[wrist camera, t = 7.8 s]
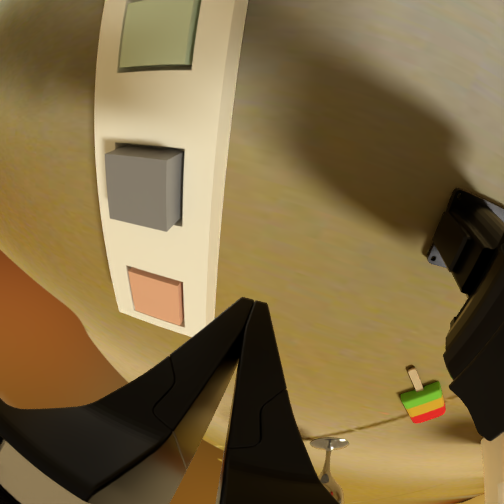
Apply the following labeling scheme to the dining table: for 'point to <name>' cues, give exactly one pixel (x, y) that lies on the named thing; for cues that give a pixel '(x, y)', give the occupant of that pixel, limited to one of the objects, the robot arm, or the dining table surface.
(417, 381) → the popsicle
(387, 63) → the dining table surface
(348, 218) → the dining table surface
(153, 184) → the charcoal key
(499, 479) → the cylinder
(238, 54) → the cream block puzzle board
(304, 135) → the dining table surface
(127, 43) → the sage key
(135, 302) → the terracotta key
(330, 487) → the wine glass
